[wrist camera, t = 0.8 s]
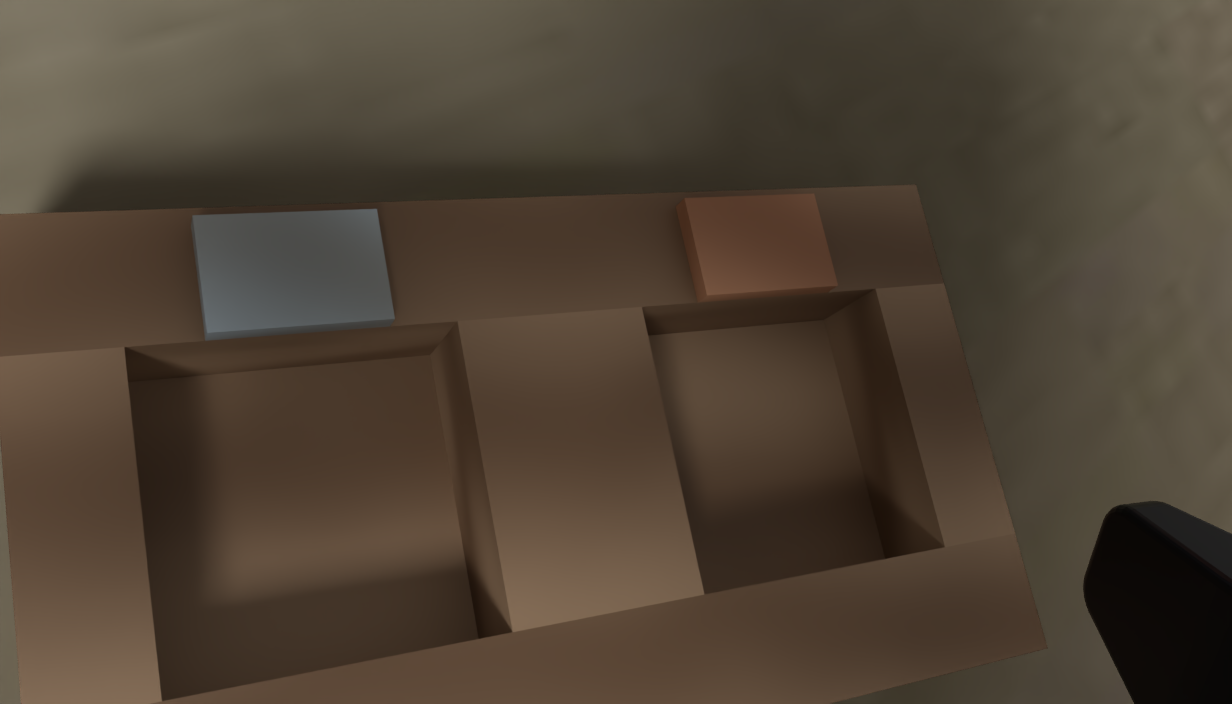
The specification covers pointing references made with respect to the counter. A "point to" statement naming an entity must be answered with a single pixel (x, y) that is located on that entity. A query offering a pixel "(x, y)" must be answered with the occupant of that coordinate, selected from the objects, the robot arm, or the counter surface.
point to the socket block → (497, 453)
